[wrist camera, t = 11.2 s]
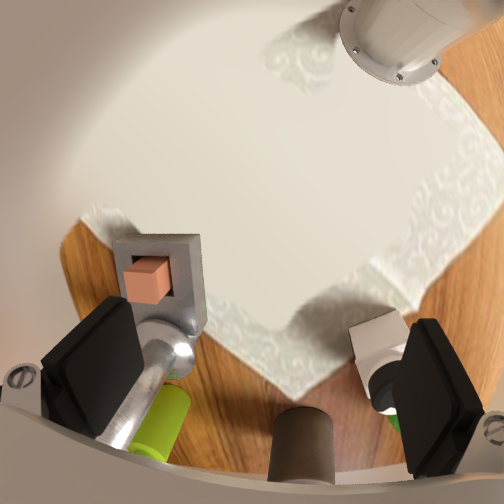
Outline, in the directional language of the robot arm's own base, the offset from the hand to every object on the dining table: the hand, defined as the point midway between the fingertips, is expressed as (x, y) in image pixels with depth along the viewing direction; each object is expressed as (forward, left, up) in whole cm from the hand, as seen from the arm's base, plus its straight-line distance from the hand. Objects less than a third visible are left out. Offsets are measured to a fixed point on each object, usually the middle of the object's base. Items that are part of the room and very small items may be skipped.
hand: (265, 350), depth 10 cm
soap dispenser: (+31, -18, -27) cm, 45 cm away
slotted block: (+12, -16, -27) cm, 33 cm away
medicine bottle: (+17, +12, -27) cm, 34 cm away
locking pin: (+7, -15, -27) cm, 32 cm away
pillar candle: (+35, +3, -27) cm, 44 cm away
